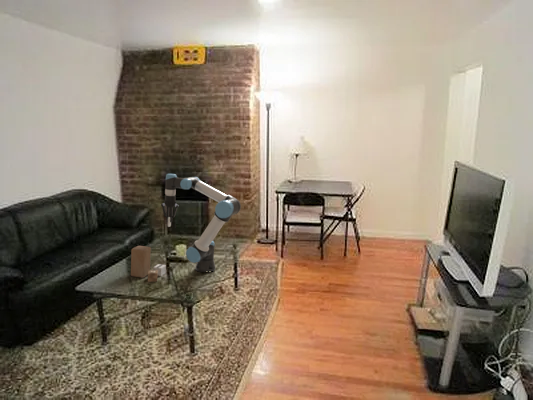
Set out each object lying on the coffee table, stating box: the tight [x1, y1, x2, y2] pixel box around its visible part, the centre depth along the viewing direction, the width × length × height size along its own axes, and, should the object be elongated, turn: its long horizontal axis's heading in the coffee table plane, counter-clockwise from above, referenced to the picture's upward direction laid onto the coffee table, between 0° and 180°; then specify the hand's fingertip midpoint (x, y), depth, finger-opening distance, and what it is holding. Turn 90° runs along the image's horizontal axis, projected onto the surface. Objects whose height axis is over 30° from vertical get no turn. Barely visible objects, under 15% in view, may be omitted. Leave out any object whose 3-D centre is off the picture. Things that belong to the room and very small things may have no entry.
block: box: [130, 245, 152, 279], centre depth 261 cm, size 10×10×20 cm
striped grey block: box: [153, 263, 167, 277], centre depth 267 cm, size 6×7×6 cm
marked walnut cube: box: [147, 269, 159, 283], centre depth 255 cm, size 6×6×6 cm
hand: (169, 226), depth 275 cm, fingers closed
